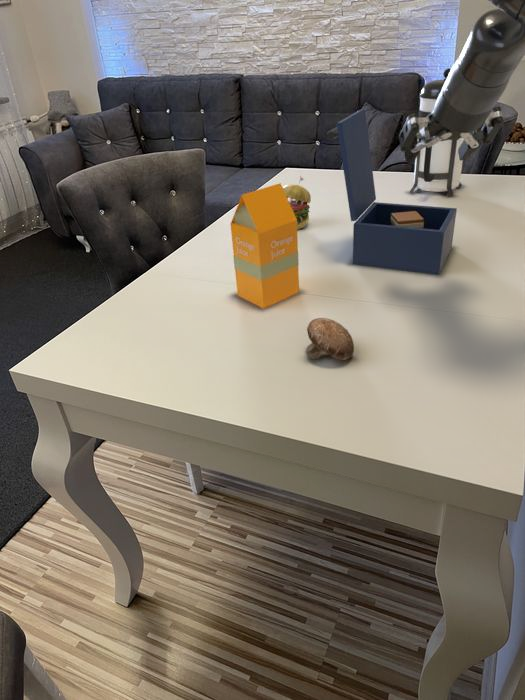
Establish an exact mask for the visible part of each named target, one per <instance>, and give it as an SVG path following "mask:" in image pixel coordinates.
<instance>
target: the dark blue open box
mask: <svg viewBox="0 0 525 700" xmlns="http://www.w3.org/2000/svg"><path fill="white" fill-rule="evenodd" d="M411 211H416V212H417V213H418V214H419V215H420V216H421V217H422V218H423V219H424V226H423V228H412V227H401V226H391V213H399V212H411ZM456 217H457V208H456V207H444V206H429V205H418V204H403V203H402V204H401V203H389V202H379V201H378V202H377V201H374V202H373V203H372V204H371V205H370V206H369V207H368V208H367V209H366V211H365V212H364V213H363V214H362V215H361V216H360V217H359V218H358V219H357V220H356V221H354V223H353V228H352V229H353V231H352V265H353V266H354V265H355V266H356V265H357V266H362V267H370V268H371V267H372V268H378V269H387V270H393V271H395V270H396V271H403V272H410V273H417V274H418V273H420V274H426V275H435V276H440V274H441V272H442V269H443V267H444V266H445V264H446V261H447V259H448V258H449V257H448V256H449V255H450V253H451V250H452V248H453V242H454V233H455V226H456V225H455V224H456Z"/></svg>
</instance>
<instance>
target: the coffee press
mask: <svg viewBox="0 0 525 700" xmlns="http://www.w3.org/2000/svg"><path fill="white" fill-rule="evenodd" d="M450 70H451V68H446V69H444V71H443V73H442V74H443V77H444V79H436V80H432V81H429V82H427V83H425V84H424V85H423V87H422V88H421V91H420V92H419V95H418V96H419V99H420V101H419V108H418V113H417V118H427V116H428V115H429V114H431V113H432V112H433V110H434V107H435V103H436V100H437V98H438V96H439V94H440V92H441V90H442V88H443V85H444V83H445V81H446V79H447V77H448V75H449V73H450ZM429 135H430V138H432V137H433V136H432V134H431V133H430V131H429ZM421 140H422V139H421V138H419V139H418V143H419V142H421ZM463 140H464V139H463V138H459V140H446V141H439V142H438V143H436V144H434V145H433V146H431V147H429V148H428V147H424V148H423V149H421V150H420V151H419V153H418V155H417V157H416V159H415V162H414V174H413V186H412V187H411V189H410V190H409V193H410V194H411V195H413V194H414V193H415V194H419V193H420V192H421V191H424V192H425V191H426V192H434V193H435V192H441V193H443V194H444V196H445V197H447V198H452V197H454V192H453V190H454V189H458V190H459V189H461V188H462V185H463V184H462V183H461V177H462V169H463V161H464V160H460V159H459V154H458V149H459V147H460V145H461V144H462V142H463Z"/></svg>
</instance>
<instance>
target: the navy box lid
mask: <svg viewBox="0 0 525 700" xmlns="http://www.w3.org/2000/svg"><path fill="white" fill-rule="evenodd" d="M326 138H327V140H328V141H333V140H334V139H336V138H338V142H339V149H340V156H341V162H342V170H343V176H344V182H345V189H346V196H347V202H348V209H349V215H350V221H351V222H356V221H357V220H358V219H359V218H360V217H361V216H362V214H363V213H364V212H365V211H366V210H367V209H368V208H369V207H370V206H371V205H372V204H373V203H374V202H376V200H377V196H376V188H375V180H374V172H373V164H372V156H371V155H372V154H371V149H370V147H371V146H370V141H369V131H368V125H367V116H366V109H365V108H363V109H362V108H361V109H358V110H357V111H355V112H354V113H352V114H350V115H348V116H347V117H345V118H343V119H341V120H340V121H338V122H337V123H336V127H335V128H333V129H331V130H329V131H328V132H327V134H326Z"/></svg>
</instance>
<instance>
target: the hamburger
mask: <svg viewBox="0 0 525 700" xmlns="http://www.w3.org/2000/svg"><path fill="white" fill-rule="evenodd" d="M302 181H305V178H304V177H302V176H301V175H300V176H299V183H298V184H294V183H292V184H291V183H290V184H286V185H282V188H283V190H284V192H285V194H286V197H287V199H288V201H289V203H290V205H291V208H292V210H293V212H294V214H295V217H296V219H297V231H299V230H301V229H302V228H304V227H305V226H306V225H307V224H308V222H309V220H310V215H309V213H310V208H311V206H310V203H311V199H312V197H311V194H310V192H309V190H308V189H307V188H306V187H303V186H302V185H300V182H302ZM289 199H290V200H289Z"/></svg>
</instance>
